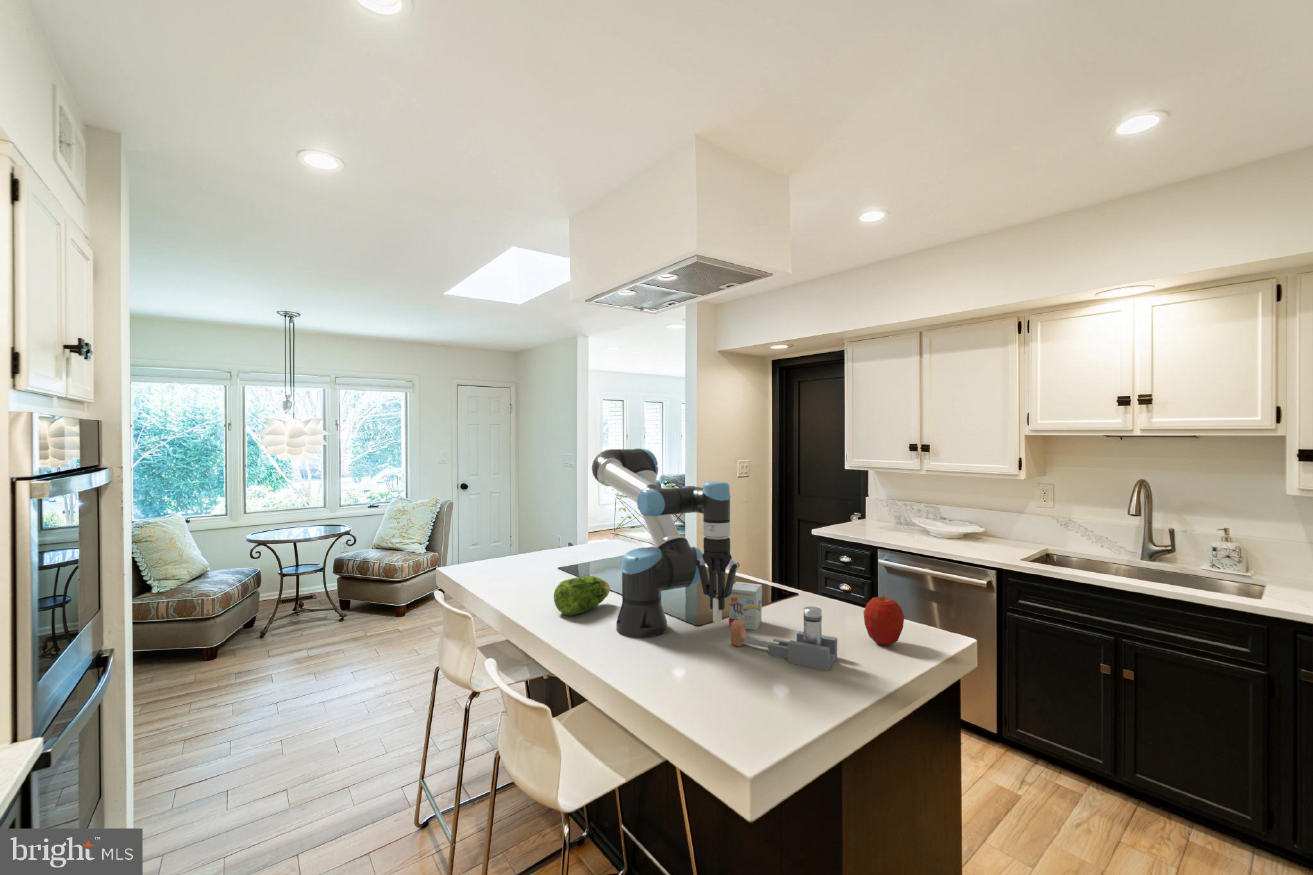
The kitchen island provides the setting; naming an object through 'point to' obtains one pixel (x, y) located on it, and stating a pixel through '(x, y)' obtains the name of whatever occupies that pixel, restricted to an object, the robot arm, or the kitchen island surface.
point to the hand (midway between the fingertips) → (717, 620)
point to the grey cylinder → (812, 625)
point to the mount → (806, 651)
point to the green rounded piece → (580, 594)
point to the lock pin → (741, 639)
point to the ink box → (746, 604)
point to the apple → (883, 620)
